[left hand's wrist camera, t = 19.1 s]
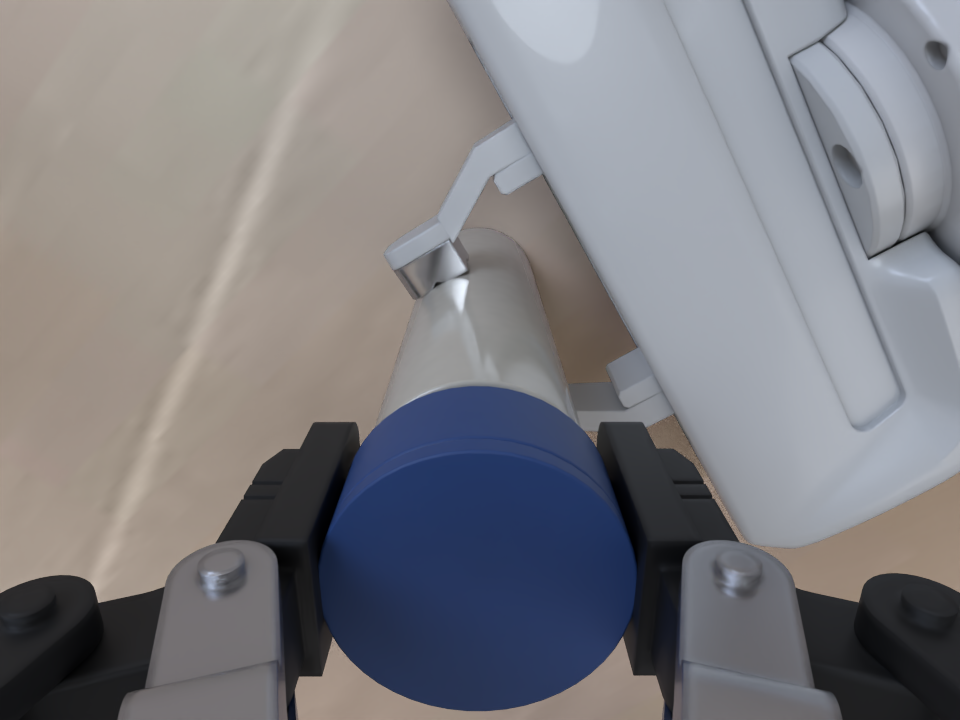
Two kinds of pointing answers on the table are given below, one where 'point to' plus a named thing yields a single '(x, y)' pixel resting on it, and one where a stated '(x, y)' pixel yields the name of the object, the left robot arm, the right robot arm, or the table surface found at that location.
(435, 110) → the table surface
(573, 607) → the lid
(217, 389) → the table surface
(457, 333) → the beige cylinder
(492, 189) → the table surface
